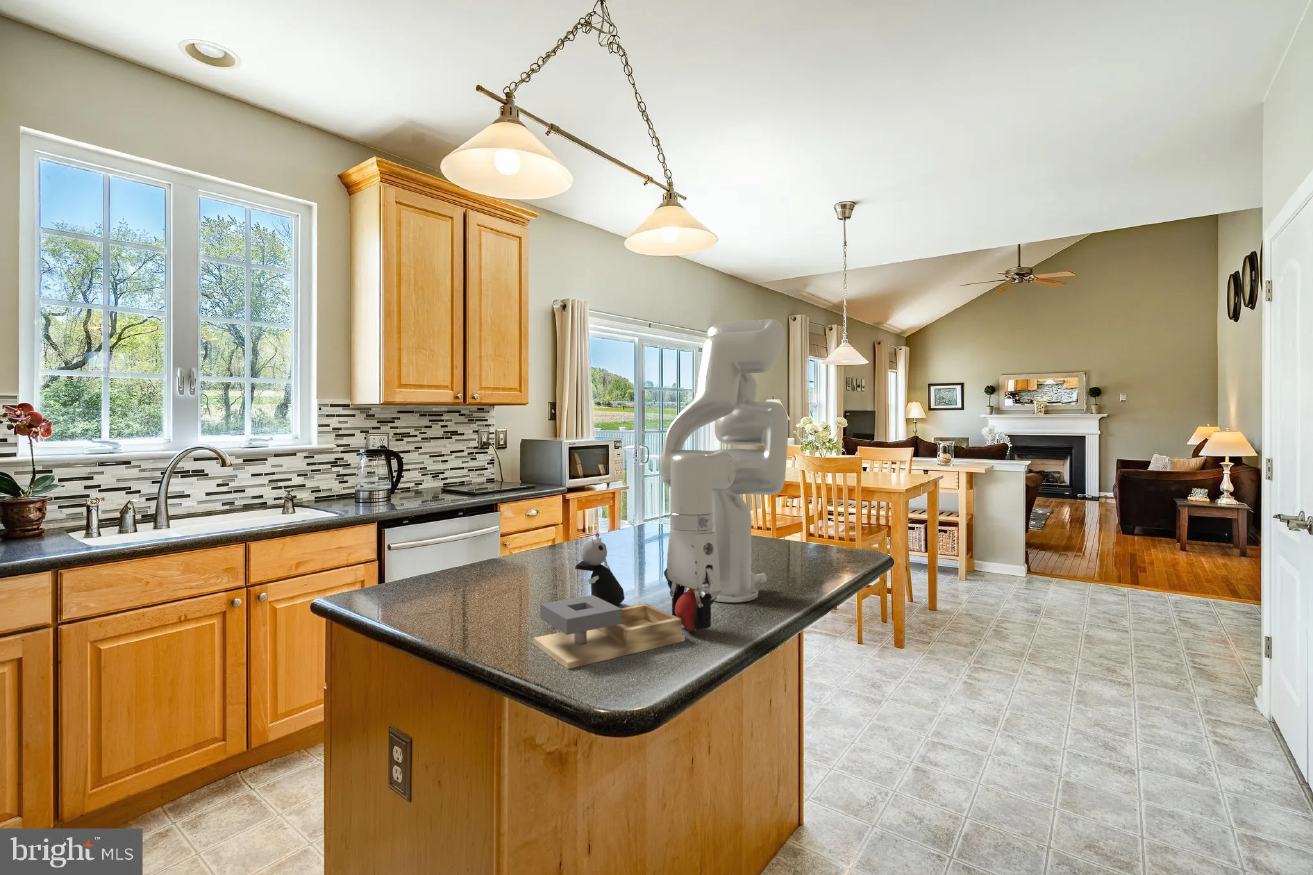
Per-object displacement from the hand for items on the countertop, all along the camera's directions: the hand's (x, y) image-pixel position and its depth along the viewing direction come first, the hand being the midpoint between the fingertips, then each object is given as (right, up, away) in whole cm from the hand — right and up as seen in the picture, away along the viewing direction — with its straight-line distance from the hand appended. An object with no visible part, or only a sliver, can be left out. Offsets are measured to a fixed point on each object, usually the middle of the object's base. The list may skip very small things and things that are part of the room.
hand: (690, 622), depth 111 cm
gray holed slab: (-19, +3, -9) cm, 21 cm away
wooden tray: (-14, -2, -6) cm, 15 cm away
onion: (0, -2, 0) cm, 2 cm away
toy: (-17, -1, +13) cm, 21 cm away
